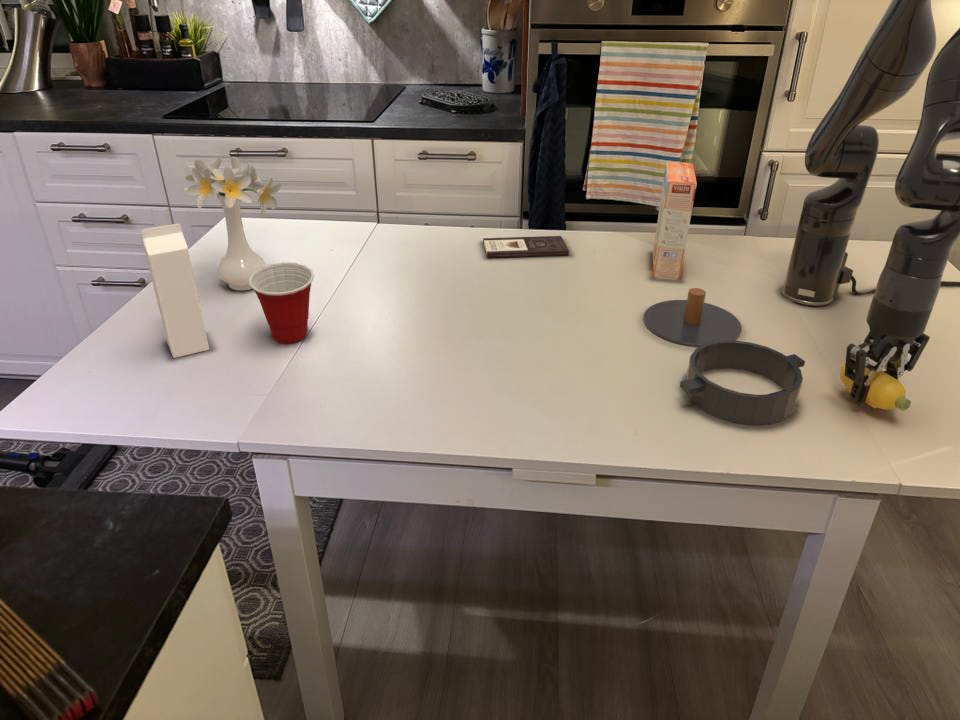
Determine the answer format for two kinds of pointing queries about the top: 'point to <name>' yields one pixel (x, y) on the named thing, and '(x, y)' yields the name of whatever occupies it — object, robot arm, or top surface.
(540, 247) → the chocolate bar
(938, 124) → the robot arm
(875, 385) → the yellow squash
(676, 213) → the cracker box
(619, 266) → the top surface
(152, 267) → the milk
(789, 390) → the pan
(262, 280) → the plastic cup
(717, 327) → the lid
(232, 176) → the flower vase
